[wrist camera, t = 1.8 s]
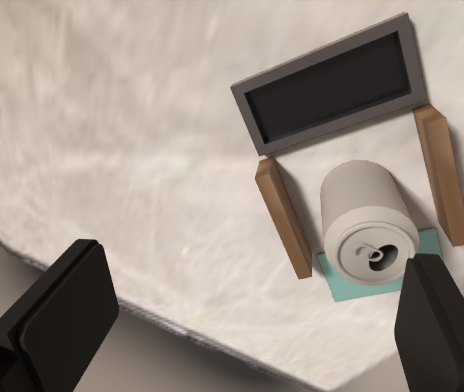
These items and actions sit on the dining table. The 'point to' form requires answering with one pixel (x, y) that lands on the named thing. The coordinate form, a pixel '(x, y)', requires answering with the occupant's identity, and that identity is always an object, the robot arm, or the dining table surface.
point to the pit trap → (332, 86)
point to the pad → (350, 290)
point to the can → (366, 224)
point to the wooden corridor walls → (439, 173)
